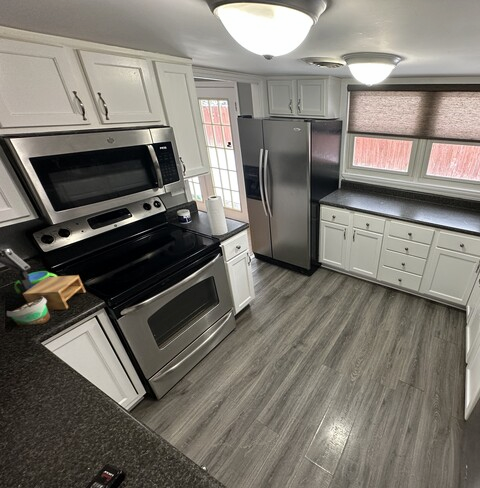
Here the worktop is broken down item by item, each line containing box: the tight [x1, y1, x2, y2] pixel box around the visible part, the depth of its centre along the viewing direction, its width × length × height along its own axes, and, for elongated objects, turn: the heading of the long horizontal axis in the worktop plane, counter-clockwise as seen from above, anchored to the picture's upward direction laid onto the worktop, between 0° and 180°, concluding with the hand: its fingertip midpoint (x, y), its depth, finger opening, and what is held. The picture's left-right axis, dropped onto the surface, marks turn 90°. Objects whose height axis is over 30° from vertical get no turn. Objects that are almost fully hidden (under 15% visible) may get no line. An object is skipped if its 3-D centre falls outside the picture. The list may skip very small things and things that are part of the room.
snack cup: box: [14, 270, 58, 294], centre depth 132 cm, size 16×10×10 cm
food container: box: [6, 296, 51, 326], centre depth 114 cm, size 12×6×10 cm, turn 160°
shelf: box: [22, 274, 87, 311], centre depth 127 cm, size 14×14×10 cm
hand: (8, 286), depth 104 cm, fingers open, 13 cm apart
